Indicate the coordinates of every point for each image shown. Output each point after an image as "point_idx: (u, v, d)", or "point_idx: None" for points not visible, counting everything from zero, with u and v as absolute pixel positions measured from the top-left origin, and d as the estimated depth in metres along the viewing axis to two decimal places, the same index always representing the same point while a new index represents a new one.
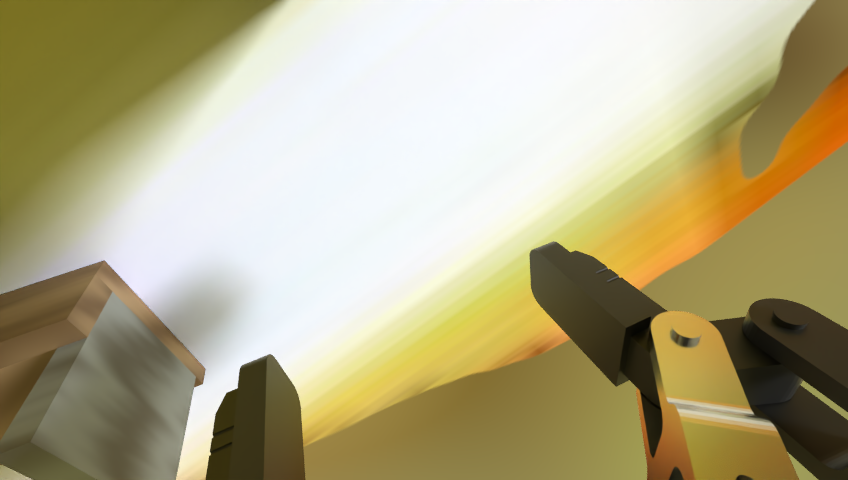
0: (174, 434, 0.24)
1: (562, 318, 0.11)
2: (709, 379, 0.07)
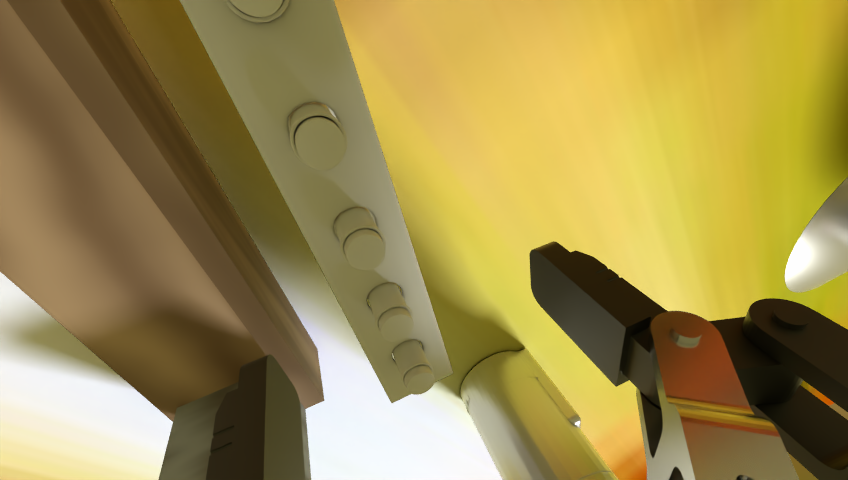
0: None
1: (562, 318, 0.11)
2: (709, 379, 0.07)
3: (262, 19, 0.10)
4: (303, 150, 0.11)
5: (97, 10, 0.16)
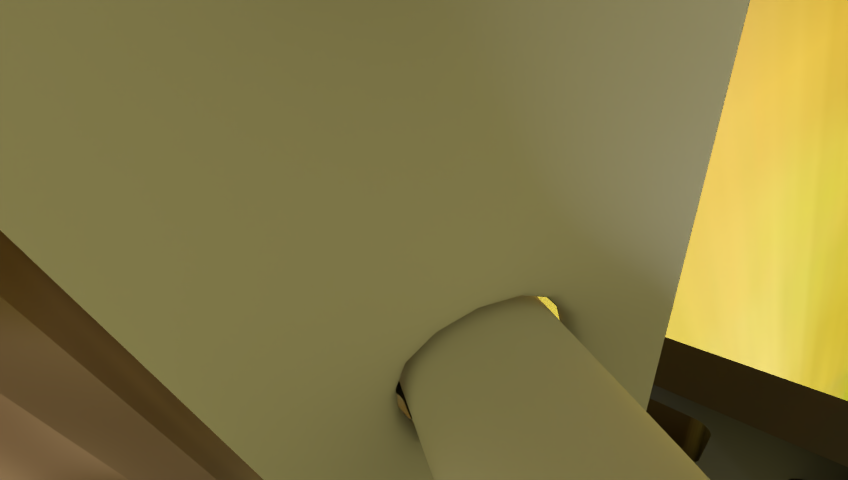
0: None
1: None
2: None
3: None
4: None
5: None
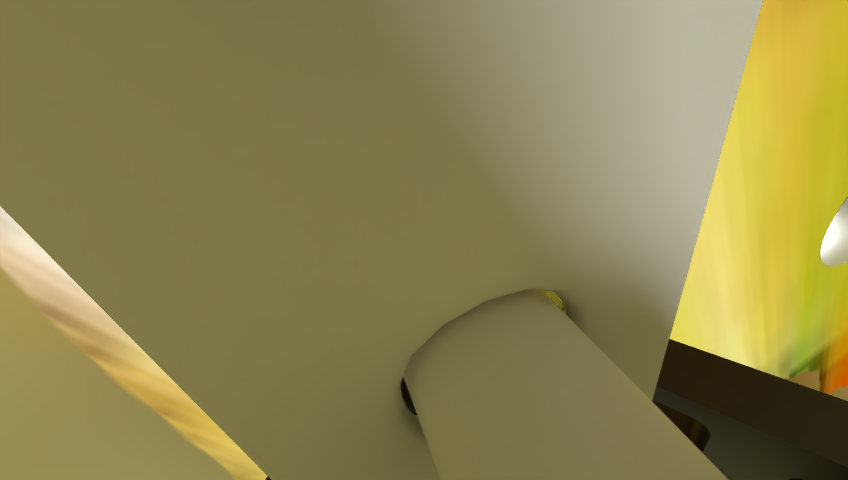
0: None
1: None
2: None
3: None
4: None
5: None
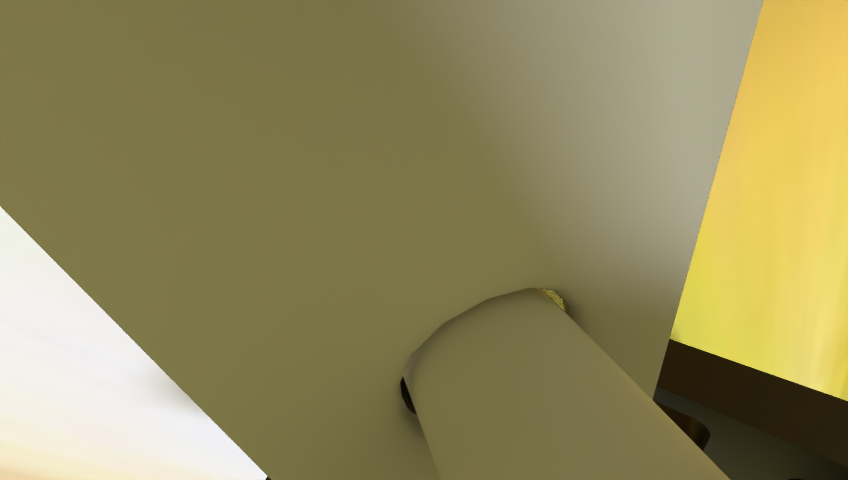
0: None
1: None
2: None
3: None
4: None
5: None
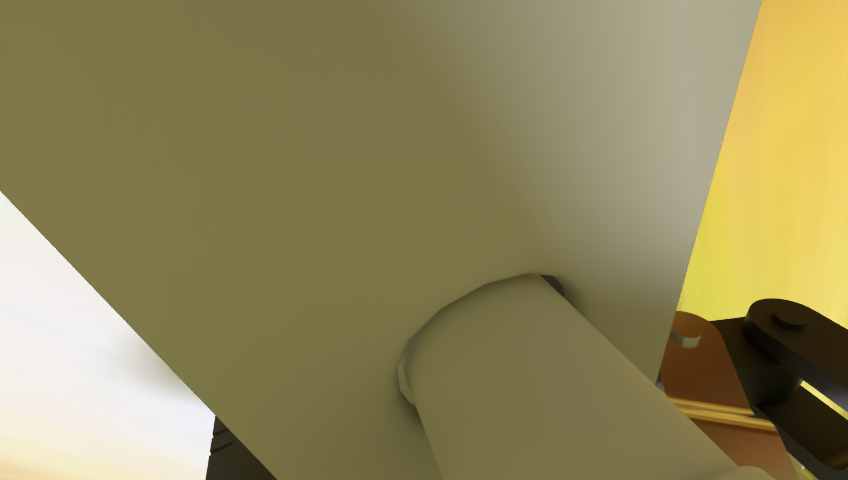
0: None
1: None
2: (709, 379, 0.07)
3: None
4: None
5: None
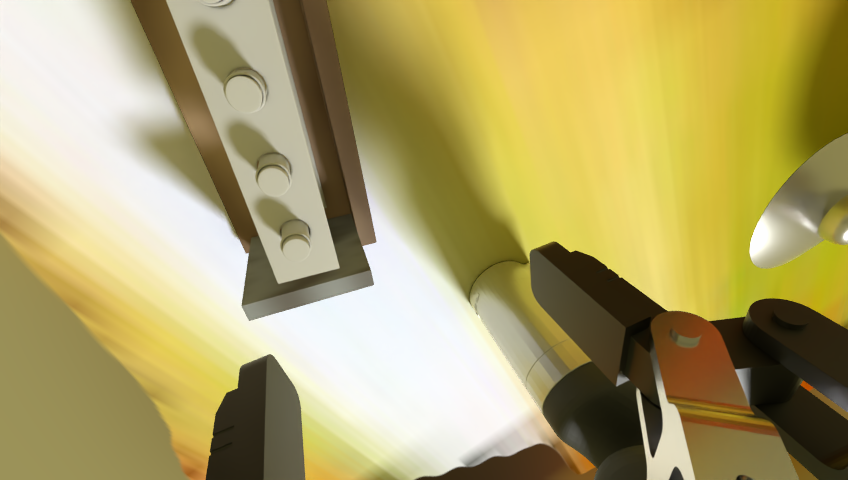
0: None
1: (562, 318, 0.11)
2: (709, 379, 0.07)
3: None
4: None
5: None
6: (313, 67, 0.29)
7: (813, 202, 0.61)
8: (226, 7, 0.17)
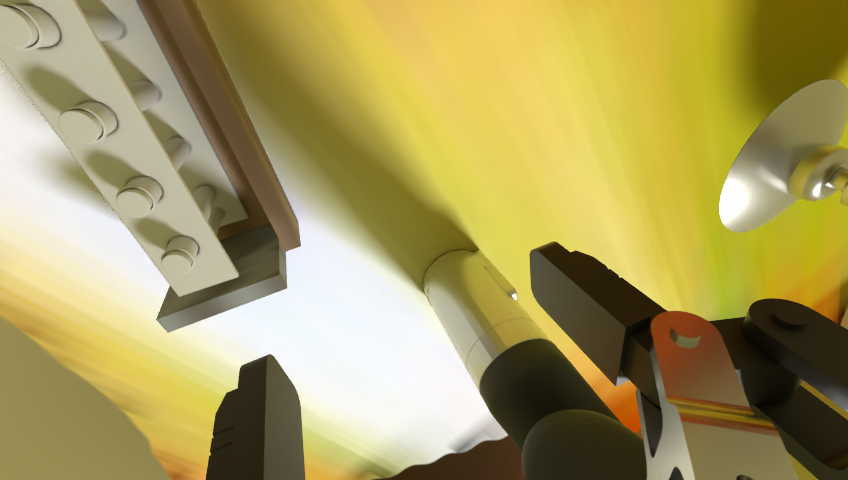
0: None
1: (562, 318, 0.11)
2: (709, 379, 0.07)
3: None
4: None
5: None
6: None
7: (778, 160, 0.59)
8: (54, 47, 0.18)
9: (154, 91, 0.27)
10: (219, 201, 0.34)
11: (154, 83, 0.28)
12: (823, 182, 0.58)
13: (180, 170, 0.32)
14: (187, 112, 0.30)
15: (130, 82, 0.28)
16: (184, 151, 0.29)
